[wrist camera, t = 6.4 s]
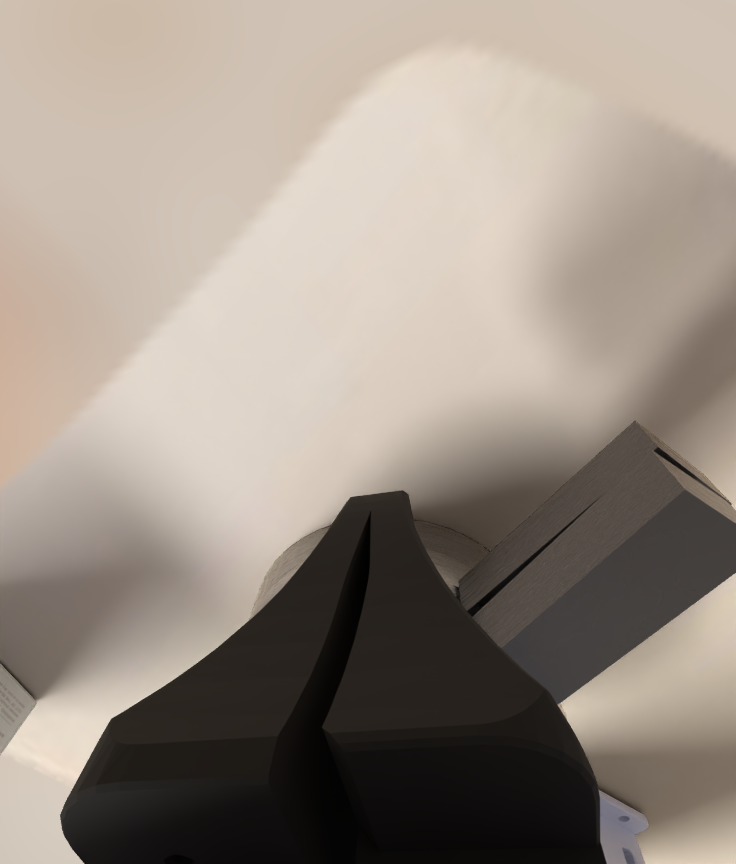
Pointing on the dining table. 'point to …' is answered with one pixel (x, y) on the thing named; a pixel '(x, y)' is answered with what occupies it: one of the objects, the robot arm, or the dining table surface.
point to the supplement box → (12, 707)
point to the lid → (614, 576)
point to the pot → (491, 571)
